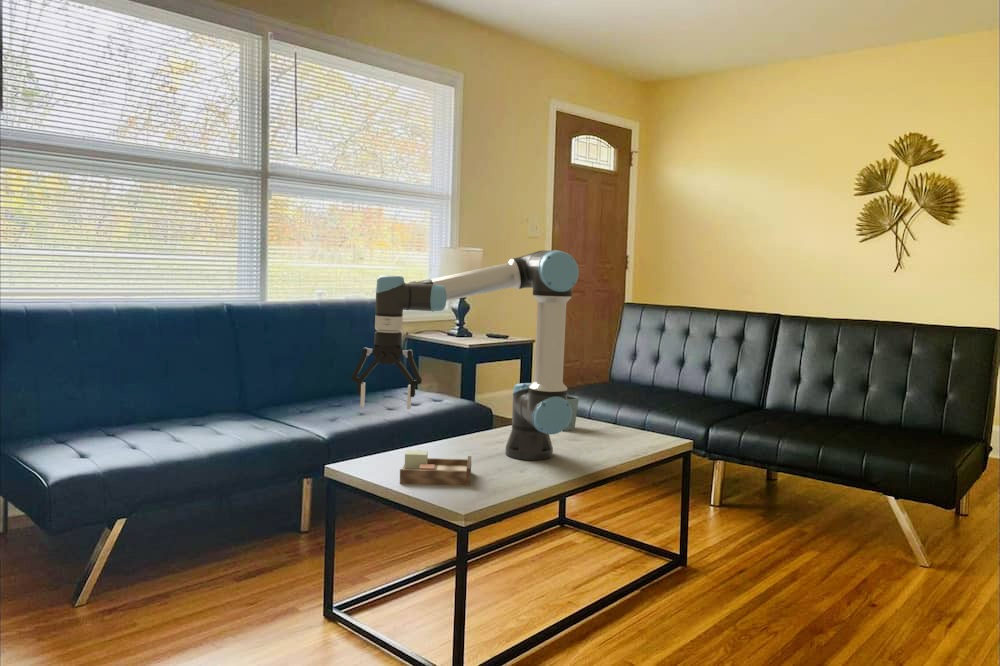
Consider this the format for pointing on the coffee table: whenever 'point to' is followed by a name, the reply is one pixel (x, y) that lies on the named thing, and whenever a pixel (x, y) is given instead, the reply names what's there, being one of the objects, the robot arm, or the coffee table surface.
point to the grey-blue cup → (574, 405)
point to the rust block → (427, 467)
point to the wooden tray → (439, 473)
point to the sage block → (415, 458)
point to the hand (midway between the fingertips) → (385, 407)
